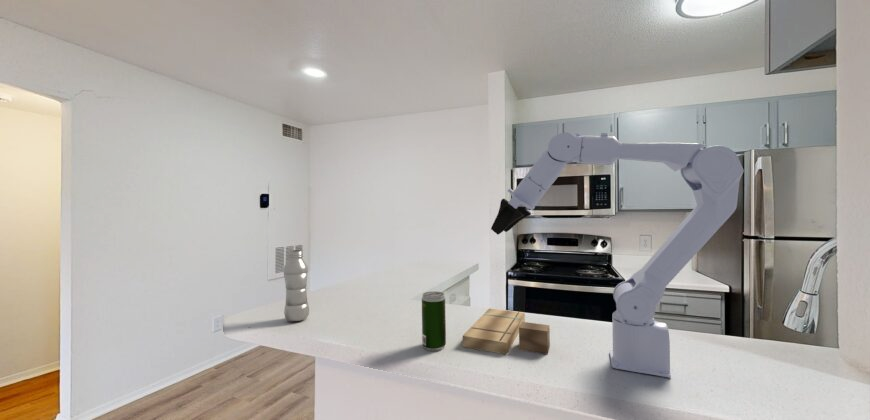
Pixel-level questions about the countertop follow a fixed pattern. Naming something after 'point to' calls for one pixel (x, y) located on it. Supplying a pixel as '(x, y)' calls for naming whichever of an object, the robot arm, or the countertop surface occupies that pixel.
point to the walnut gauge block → (534, 337)
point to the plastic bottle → (296, 287)
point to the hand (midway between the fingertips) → (498, 230)
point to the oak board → (494, 331)
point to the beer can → (433, 321)
